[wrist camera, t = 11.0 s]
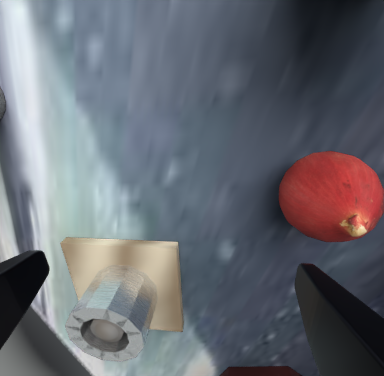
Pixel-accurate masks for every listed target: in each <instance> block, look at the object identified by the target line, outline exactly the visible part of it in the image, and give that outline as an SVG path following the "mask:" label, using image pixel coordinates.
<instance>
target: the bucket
mask: <svg viewBox="0 0 384 376" xmlns="http://www.w3.org/2000/svg"><path fill="white" fill-rule="evenodd" d="M220 376H302V375H300V374H299V373H297V372H296V371H294V370H293V369H291V368H290V367H289V366H266V367H228V368H227V369H226V370H225V371H224V372H223V373H222V374H221V375H220Z"/></svg>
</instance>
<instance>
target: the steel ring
mask: <svg viewBox="0 0 384 376" xmlns="http://www.w3.org/2000/svg"><path fill="white" fill-rule="evenodd" d="M157 301H158V295H157V287H156V285H155V284H154V282H153V281H152V280H151V279H150V278H149V277H148V275H147V274H146V273H144V272H142V271H140V270H138V269H136V268H133V267H131V266H127V265H111V266H108V267H106V268H104V269H102V270H100V271H99V272H98V273H97V275H96V276H95V278H94V279H93V281H92V282H91V284H90V285H89V287H88V288H87V290H86V291H85V293H84V294H83V295H82V297H81V298H80V300H79V301H78V303H77V304H76V306H75V307H74V309H73V310H72V312H71V313H70V315H69V318H68V320H67V322H66V324H65V328H66V330H67V333H68V335H69V338H70V340H71V341H72V342H73V343H74V344H75V345H77V346H78V347H79V348H80V349H81V350H82V351H83V352H85V353H87V354H90V355H92V356H94V357H97V358H99V359H101V360H109V361H119V362H121V361H125V360H128V359H132V358H135V357H137V355H138V354H139V353H140V351H141V350H142V349H143V347H144V345H145V341H146V338H147V335H148V331H149V328H150V324H151V321H152V318H153V314H154V311H155V307H156V304H157ZM94 319H103V320H108V321H110V322H112V323H114V324H117V325H119V326H120V327H121V328H122V329H123V330H124V333H123V336H122V338H121V339H120V340H118V341H116V342H107V341H103V340H101V339H99V338H97V337H96V336H95V335H94V334H93V333H92V331H91V324H92V322H93V320H94Z"/></svg>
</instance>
